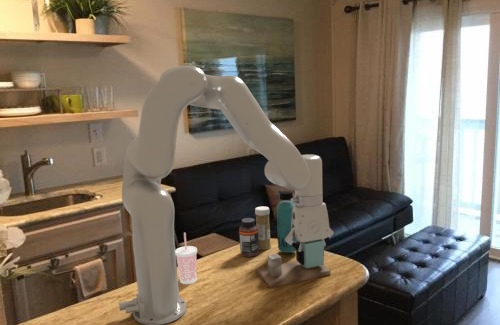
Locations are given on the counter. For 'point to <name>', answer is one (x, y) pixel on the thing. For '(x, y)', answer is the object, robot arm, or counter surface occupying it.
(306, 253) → the pale aqua cube
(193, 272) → the beverage cup
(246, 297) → the counter surface
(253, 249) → the supplement bottle
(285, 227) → the beverage bottle
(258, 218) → the sprinkles bottle
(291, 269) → the post board
